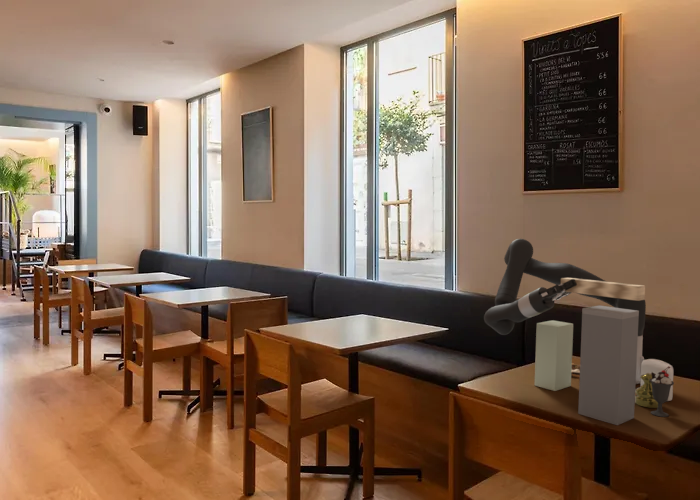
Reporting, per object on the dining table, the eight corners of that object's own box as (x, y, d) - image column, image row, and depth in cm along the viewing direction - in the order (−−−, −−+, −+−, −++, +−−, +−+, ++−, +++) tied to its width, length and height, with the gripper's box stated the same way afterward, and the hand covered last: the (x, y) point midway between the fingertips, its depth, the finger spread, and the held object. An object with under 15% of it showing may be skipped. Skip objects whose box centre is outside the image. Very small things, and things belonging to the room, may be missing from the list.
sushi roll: (595, 371, 226) (595, 360, 226) (597, 381, 212) (597, 370, 212) (554, 367, 231) (555, 357, 231) (554, 377, 217) (554, 366, 217)
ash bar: (560, 291, 182) (560, 278, 182) (567, 290, 185) (567, 277, 185) (638, 300, 164) (638, 286, 164) (644, 299, 166) (645, 285, 166)
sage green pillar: (534, 385, 204) (536, 323, 203) (550, 380, 211) (552, 320, 209) (555, 391, 198) (557, 326, 197) (570, 385, 204) (573, 323, 203)
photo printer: (637, 393, 197) (639, 357, 196) (646, 391, 199) (648, 355, 198) (665, 402, 188) (667, 364, 187) (674, 400, 190) (676, 363, 189)
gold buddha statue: (660, 410, 180) (661, 378, 180) (633, 405, 184) (634, 374, 184) (661, 403, 186) (663, 372, 186) (636, 399, 190) (637, 369, 190)
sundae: (675, 418, 172) (678, 368, 172) (651, 416, 174) (653, 367, 173) (668, 411, 179) (670, 363, 178) (644, 409, 180) (646, 361, 179)
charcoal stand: (578, 413, 176) (582, 308, 174) (595, 407, 182) (599, 305, 180) (617, 425, 166) (622, 314, 164) (633, 418, 173) (638, 310, 171)
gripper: (518, 293, 188) (561, 271, 176) (543, 290, 197) (585, 269, 185) (527, 315, 186) (572, 294, 174) (552, 311, 195) (596, 290, 183)
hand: (578, 281), depth 180 cm, fingers closed on ash bar, 4 cm apart
